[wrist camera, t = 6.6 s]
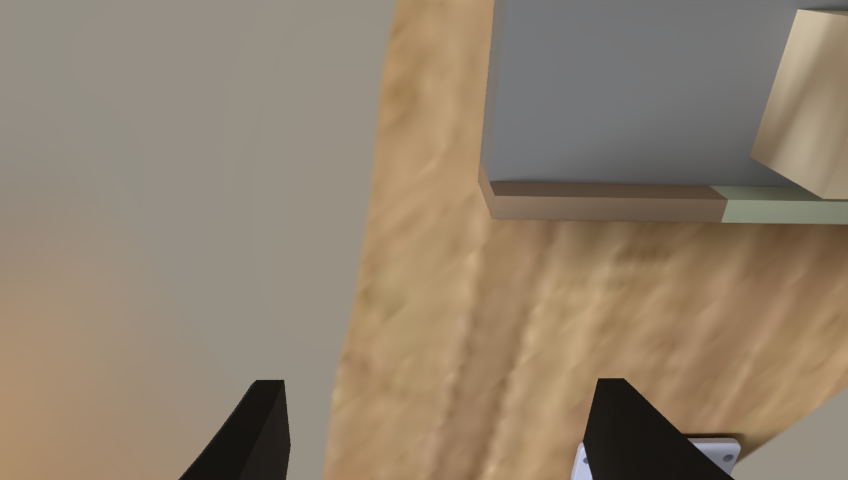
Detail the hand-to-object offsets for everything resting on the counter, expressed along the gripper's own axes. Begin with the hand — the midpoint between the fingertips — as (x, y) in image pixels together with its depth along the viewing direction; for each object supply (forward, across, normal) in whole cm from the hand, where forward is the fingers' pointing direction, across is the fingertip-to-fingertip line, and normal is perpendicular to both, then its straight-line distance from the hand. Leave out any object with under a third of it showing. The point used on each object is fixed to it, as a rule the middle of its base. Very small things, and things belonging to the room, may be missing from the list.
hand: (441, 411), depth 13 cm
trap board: (+9, -12, -6) cm, 16 cm away
